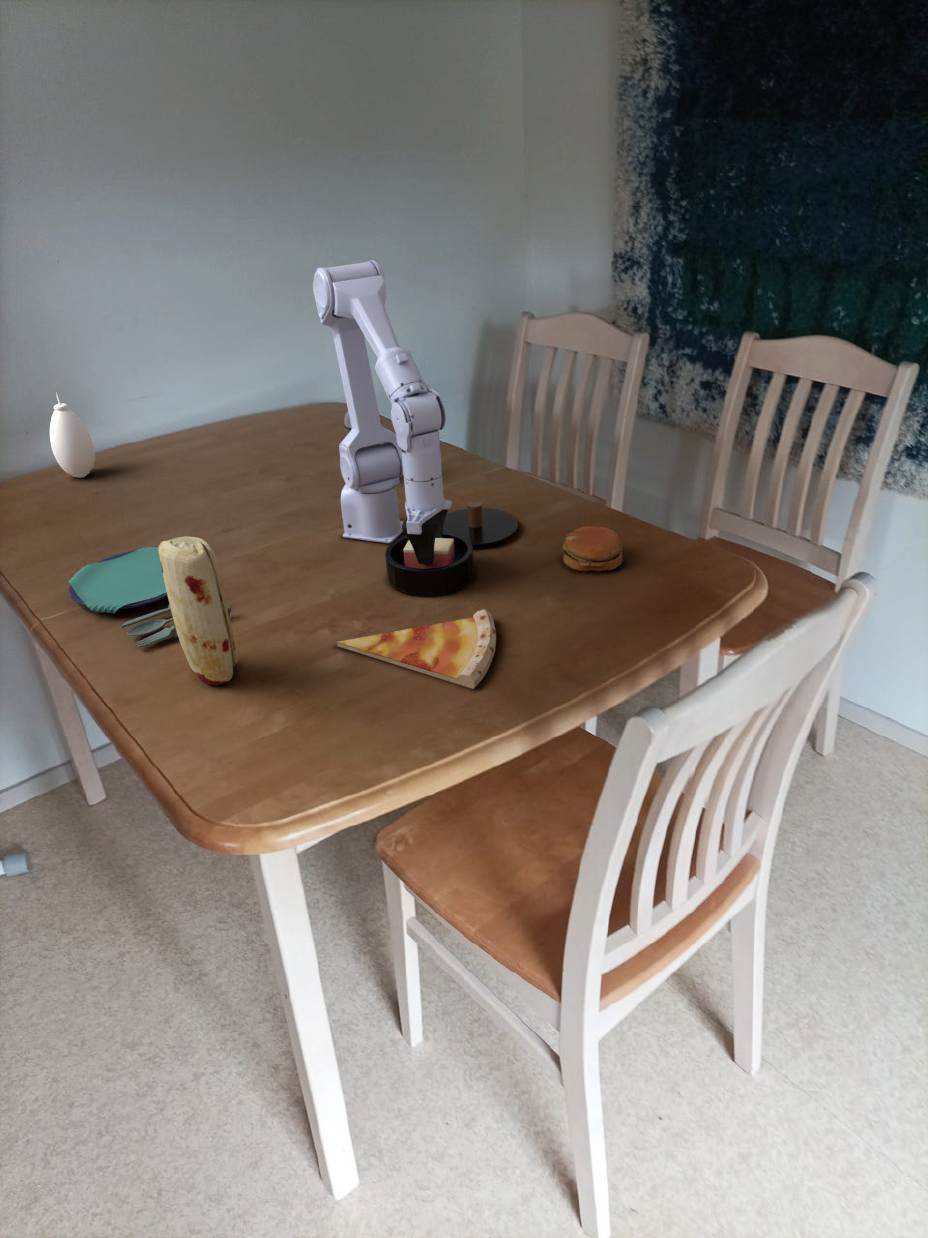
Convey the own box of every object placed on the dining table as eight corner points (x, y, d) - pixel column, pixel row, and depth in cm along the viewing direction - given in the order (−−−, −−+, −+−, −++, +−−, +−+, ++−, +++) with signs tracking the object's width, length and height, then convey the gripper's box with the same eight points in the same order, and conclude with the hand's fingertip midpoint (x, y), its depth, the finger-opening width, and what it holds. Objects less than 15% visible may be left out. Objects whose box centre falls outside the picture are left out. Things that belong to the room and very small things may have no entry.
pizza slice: (400, 596, 133) (399, 585, 132) (530, 630, 123) (530, 618, 122) (337, 647, 122) (335, 635, 121) (474, 689, 112) (473, 676, 111)
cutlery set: (174, 546, 152) (171, 535, 151) (246, 613, 131) (243, 600, 130) (57, 584, 143) (53, 571, 141) (114, 662, 122) (110, 649, 120)
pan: (373, 589, 136) (370, 564, 133) (410, 551, 146) (407, 526, 144) (454, 602, 131) (452, 576, 129) (486, 561, 142) (484, 536, 139)
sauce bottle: (86, 466, 189) (62, 383, 179) (108, 473, 185) (84, 388, 175) (54, 478, 183) (27, 394, 174) (75, 485, 179) (49, 399, 170)
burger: (632, 567, 137) (634, 540, 135) (579, 579, 135) (579, 552, 133) (604, 542, 145) (605, 516, 143) (552, 553, 143) (552, 527, 141)
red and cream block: (405, 569, 136) (403, 549, 135) (412, 556, 140) (410, 536, 138) (448, 571, 135) (447, 551, 133) (455, 558, 139) (453, 538, 137)
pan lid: (420, 543, 148) (418, 516, 146) (453, 509, 160) (451, 483, 157) (501, 555, 143) (500, 526, 141) (529, 518, 155) (528, 491, 152)
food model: (175, 670, 119) (140, 538, 109) (219, 650, 123) (189, 521, 112) (210, 700, 113) (175, 563, 102) (255, 678, 117) (226, 544, 106)
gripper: (437, 495, 123) (443, 579, 130) (459, 457, 135) (463, 536, 142) (389, 493, 124) (398, 577, 131) (415, 456, 136) (421, 534, 143)
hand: (429, 555), depth 137 cm, fingers closed on red and cream block, 4 cm apart
